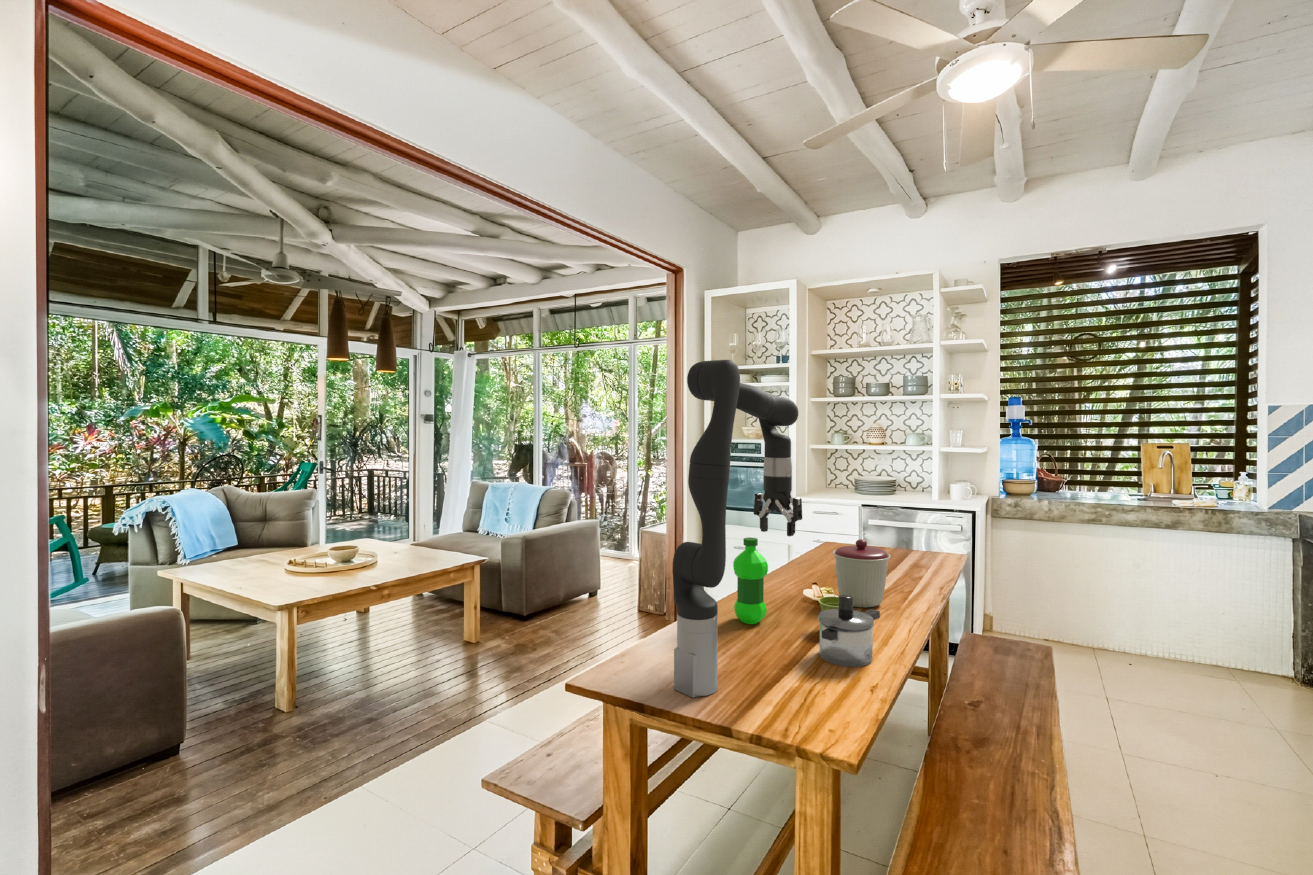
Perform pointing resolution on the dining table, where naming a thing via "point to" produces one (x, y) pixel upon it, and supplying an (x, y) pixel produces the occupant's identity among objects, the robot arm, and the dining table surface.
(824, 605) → the plant pot
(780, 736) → the dining table surface
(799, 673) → the dining table surface
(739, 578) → the plastic bottle
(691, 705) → the dining table surface
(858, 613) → the lid
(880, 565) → the canister
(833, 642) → the cooker pot
